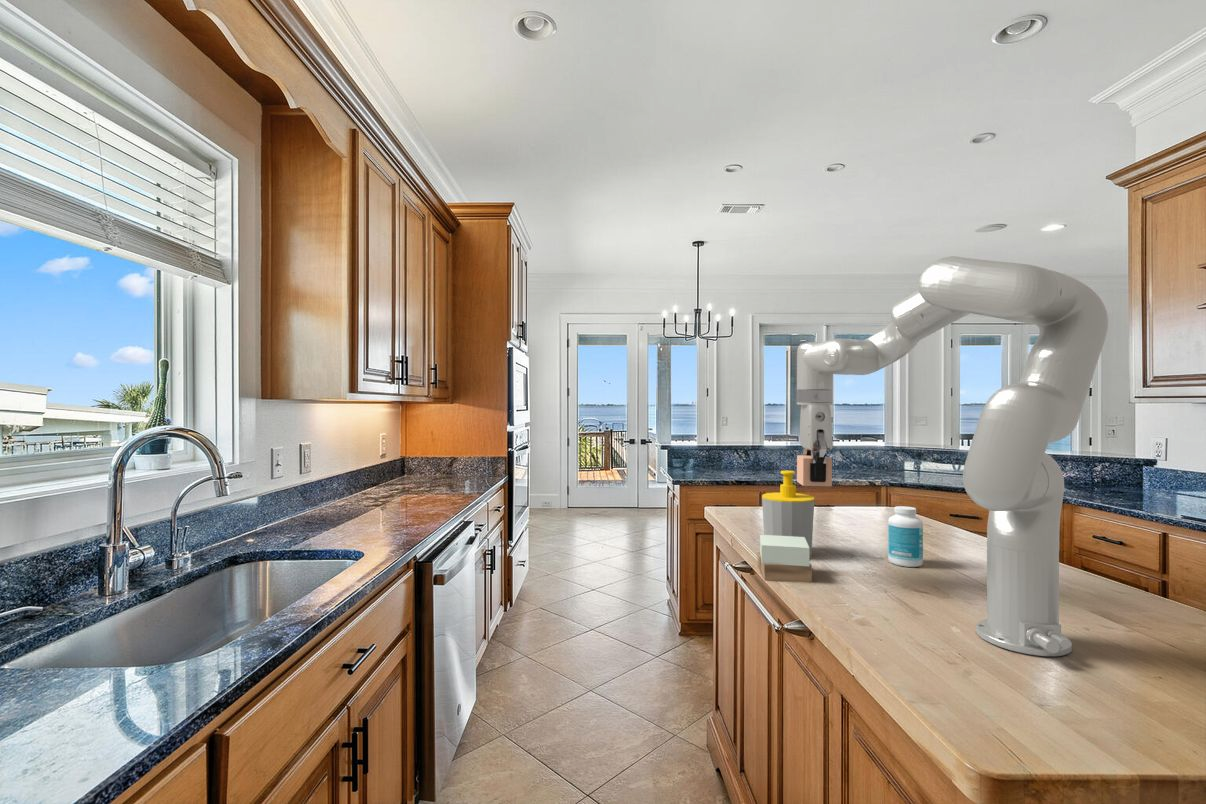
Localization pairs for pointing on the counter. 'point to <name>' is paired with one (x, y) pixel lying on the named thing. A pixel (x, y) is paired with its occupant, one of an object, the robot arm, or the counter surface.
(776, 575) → the tower base
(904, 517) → the pill bottle
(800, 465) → the cube
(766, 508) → the soap bottle
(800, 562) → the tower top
